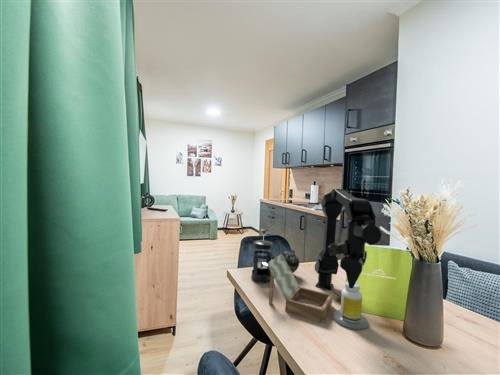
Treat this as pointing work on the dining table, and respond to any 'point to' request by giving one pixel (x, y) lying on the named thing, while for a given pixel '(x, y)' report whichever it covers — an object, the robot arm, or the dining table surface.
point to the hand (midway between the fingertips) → (352, 283)
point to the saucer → (350, 325)
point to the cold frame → (297, 292)
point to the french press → (261, 269)
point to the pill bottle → (351, 303)
